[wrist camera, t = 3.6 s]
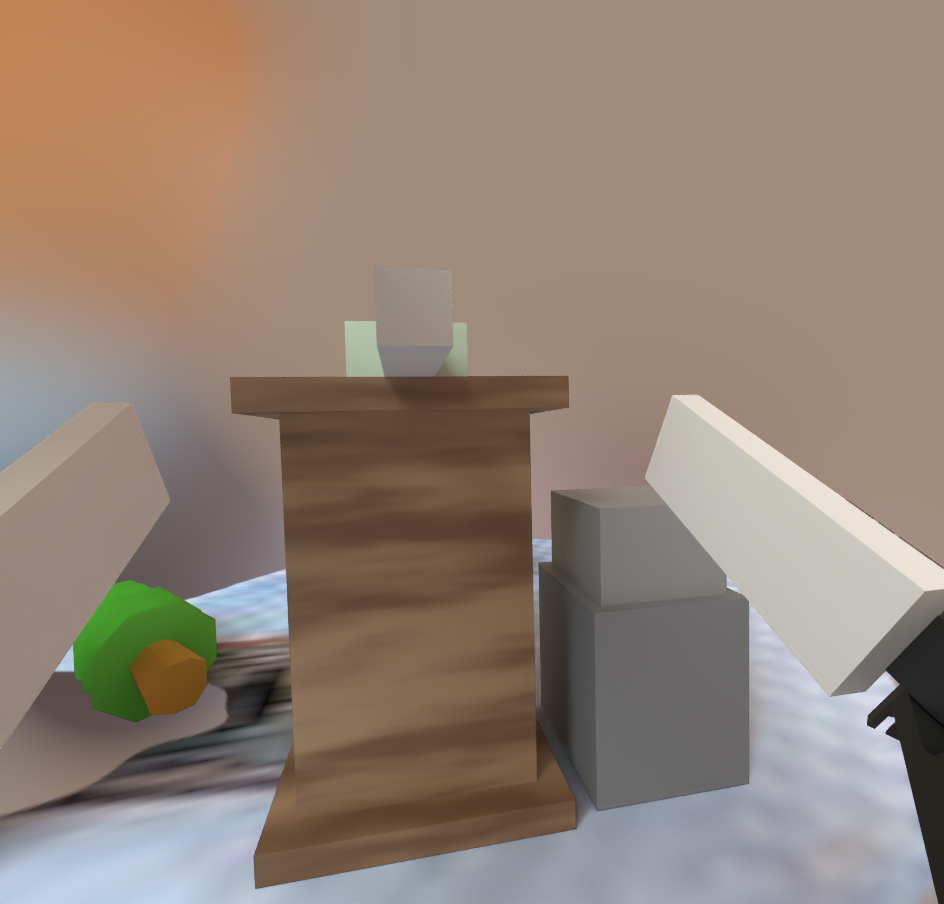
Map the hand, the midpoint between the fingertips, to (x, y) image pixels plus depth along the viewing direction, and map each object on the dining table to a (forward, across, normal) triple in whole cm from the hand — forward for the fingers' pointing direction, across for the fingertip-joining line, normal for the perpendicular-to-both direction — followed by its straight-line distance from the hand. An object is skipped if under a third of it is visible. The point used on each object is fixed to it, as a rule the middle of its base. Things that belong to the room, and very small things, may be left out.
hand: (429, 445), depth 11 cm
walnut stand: (+6, 0, -34) cm, 34 cm away
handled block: (+16, 0, -5) cm, 17 cm away
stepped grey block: (+6, +18, -34) cm, 39 cm away
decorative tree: (+23, -30, -44) cm, 58 cm away
